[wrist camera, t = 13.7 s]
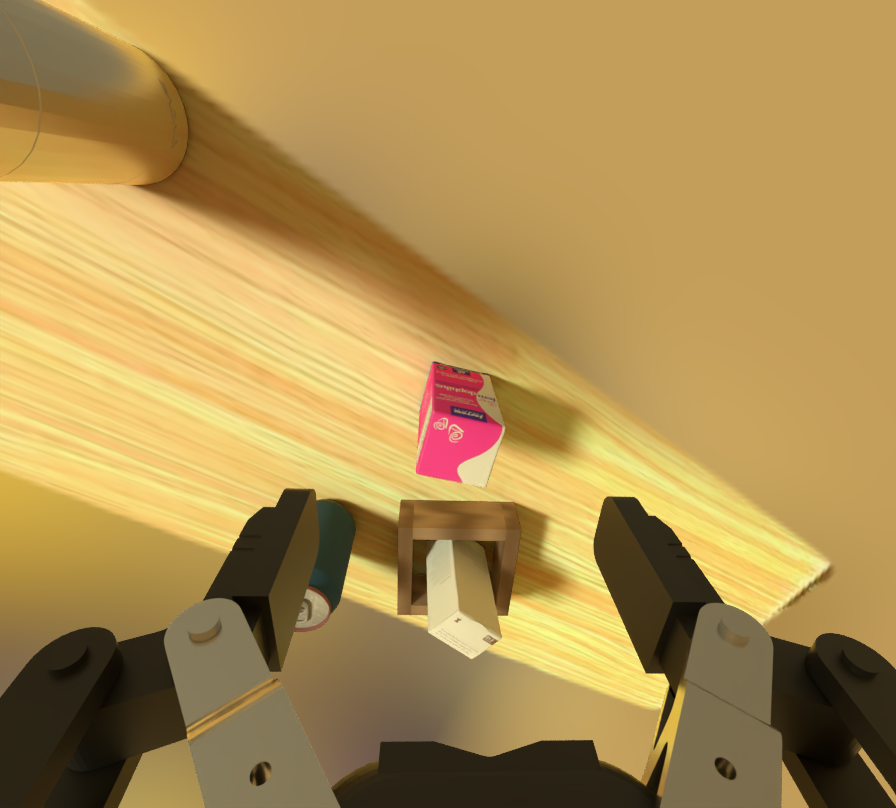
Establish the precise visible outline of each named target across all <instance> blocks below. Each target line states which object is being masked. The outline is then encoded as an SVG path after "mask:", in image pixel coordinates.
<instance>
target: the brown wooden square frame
mask: <svg viewBox="0 0 896 808" xmlns="http://www.w3.org/2000/svg"><path fill="white" fill-rule="evenodd" d="M520 535H521V527H520V523H519V519H518V516H517V512H516V508H515V504H514V502H476V501H429V500H401V503H400V513H399V523H398V615H428V601H427V575H423V574H413V539H420V540H479V541H496V542H495V550H494V558H493V566H492V573H491V575H490V580H491V585H492V591H493V596H494V601H495V606H496V611H497V616H508V611H509V605H510V598H511V592H512V586H513V579H514V573H515V567H516V560H517V554H518V548H519V541H520Z"/></svg>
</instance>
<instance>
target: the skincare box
mask: <svg viewBox="0 0 896 808" xmlns="http://www.w3.org/2000/svg"><path fill="white" fill-rule="evenodd" d="M426 563H427V601H428V632H429V633H430V634H432V635H433V636H435V637H437V638H438V639H440V640H441V641H443V642H445V643H446V644H448V645H450V646H451V647H453V648H455V649H456V650H458V651H459V652H461V653H463V654H464V655H466V656H467V657H469V658H470V659H473V658H474V657H476V656H478V655H479V654H480V653H482V652H483V651H485V650H486V649H487V648H489V647H490V646H492V645H493V644H494V643H496V642H497V641H499V640H500V639H501V638H502V636H501V631H500V626H499V621H498V616H497V611H496V606H495V601H494V596H493V591H492V585H491V580H490V575H489V570H488V565H487V560H486V554H485V549H484V548H483V547H482V546H481V545H479V544H478V543H477V542H476V541H474V540H427V541H426Z"/></svg>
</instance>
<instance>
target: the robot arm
mask: <svg viewBox="0 0 896 808" xmlns="http://www.w3.org/2000/svg"><path fill="white" fill-rule="evenodd" d="M187 142H188V122H187V117H186V113H185V109H184V105H183V103H182V100H181V98H180V96H179V94H178V91H177V89H176V88H175V86H174V84H173V83H172V81H171V80H170V78H169V77H168V75H167V74H166V73H165V72H164V71H163V69H162V68H161V67H160V66H159V65H158V64H157V63H156V62H155V61H154V60H153V59H152V58H150V57H149V56H148V55H147V54H145V53H144V52H143V51H141V50H140V49H138V48H136V47H134V46H132V45H130V44H128V43H127V42H124V41H122V40H120V39H118V38H116V37H114V36H112V35H110V34H108V33H106V32H104V31H102V30H100V29H98V28H97V27H95V26H92V25H90V24H88V23H86V22H84V21H82V20H80V19H78V18H76V17H74V16H72V15H70V14H68V13H66V12H64V11H62V10H60V9H58V8H56V7H54V6H52V5H50V4H48V3H45V2H43V1H41V0H0V182H44V183H88V184H126V185H147V184H153V183H157V182H159V181H161V180H164V179H166V178H167V177H169V176H170V175H171V174H172V173H173V172H174V171H176V169H177V168H178V166H179V165H180V163H181V162H182V160H183V157H184V155H185V152H186V149H187ZM318 549H319V523H318V512H317V501H316V493H315V490H314V489H289V488H286V489H285V490H284V491H283V493H282V495H281V497H280V499H279V501H278V503H277V505H276V507H263V508H262V509H260V510H259V511H258V512H257V513H256V514H254V515H253V516H252V517H251V518H250V519H249V520H248V521H247V523H246V524H245V526H244V528H243V530H242V531H241V533H240V535H239V538H238V539H237V540H236V542H235V544H234V546H233V548H232V551H230V553H229V555H228V557H227V558H226V560H225V562H224V564H223V566H222V567H221V569H220V571H219V573H218V575H217V576H216V578H215V580H214V582H213V584H212V585H211V587H210V589H209V591H208V593H207V594H206V596H205V598H204V599H203V601H201V602H199V603H196V604H194V605H192V606H190V607H189V608H187V609H186V610H184V611H183V612H182V613H180V614H179V615H178V616H177V617H176V618H175V619H174V620H173V621H172V623H171V624H170V625H169V627H168V628H167V629H165V630H162V631H159V632H155V633H152V634H148V635H144V636H140V637H136V638H133V639H129V640H124V641H121V642H117V641H116V638H115V636H114V635H113V633H112V632H110V631H109V630H107V629H105V628H100V627H90V628H84V629H79V630H76V631H73V632H70V633H68V634H66V635H63V636H61V637H60V638H58V639H56V640H54V641H53V642H51V643H49V644H48V645H46V646H45V647H44V648H43V649H41V650H40V651H39V652H38V653H37V654H36V655H34V656H33V658H32V659H31V660H30V661H29V662H28V663H27V664H26V666H25V667H24V668H23V670H22V671H21V672H20V673H19V675H18V676H17V677H16V678H15V680H14V681H13V682H12V683H11V685H10V686H9V687H8V689H7V690H6V691H5V692H4V694H3V695H2V696H1V698H0V808H118V806H119V804H120V802H121V800H122V798H123V796H124V793H125V791H126V789H127V787H128V785H129V782H130V780H131V778H132V776H133V773H134V771H135V769H136V767H137V765H138V763H139V761H140V758H141V756H142V754H143V753H145V752H148V751H151V750H154V749H157V748H160V747H163V746H166V745H169V744H171V743H175V742H178V741H180V740H183V739H186V738H188V743H189V746H190V751H191V754H192V758H193V762H194V766H195V770H196V773H197V777H198V781H199V785H200V789H201V792H202V796H203V800H204V804H205V808H781V793H782V792H781V791H782V760H783V762H784V764H785V766H786V767H787V769H788V771H789V773H790V775H791V776H792V778H793V780H794V782H795V783H796V785H797V787H798V788H799V790H800V792H801V794H802V796H803V798H804V799H805V801H806V803H807V805H808V806H809V808H896V806H895V804H894V803H893V802H892V800H891V799H890V797H889V796H888V795H887V793H886V792H885V790H884V789H883V787H882V786H881V785H880V783H879V782H878V781H877V779H876V778H875V776H874V775H873V773H872V772H871V770H870V769H869V768H868V766H867V765H866V763H865V762H864V761H863V759H862V758H861V757H860V755H859V754H858V752H859V751H860V749H861V748H863V749H864V751H865V752H866V753H867V755H868V756H869V757H870V759H871V760H872V762H873V763H874V764H875V766H876V767H877V769H878V770H879V771H880V773H881V774H882V775H883V777H884V778H885V780H886V781H887V782H888V784H889V785H890V786H891V788H892V789H893V791H894V792H895V794H896V669H895V668H894V667H893V666H892V665H891V664H890V663H889V662H888V661H887V660H886V659H884V658H883V657H882V656H881V655H880V654H878V653H877V652H876V651H874V650H873V649H871V648H870V647H868V646H866V645H865V644H862V643H861V642H859V641H857V640H855V639H852V638H850V637H847V636H844V635H840V634H834V633H826V634H822V635H820V636H819V637H818V638H817V639H816V640H815V642H814V644H813V645H812V647H807V646H803V645H800V644H796V643H792V642H789V641H785V640H781V639H778V638H774V637H771V636H769V634H768V632H767V631H766V630H765V628H764V627H763V626H762V625H761V624H760V623H759V622H758V621H757V620H755V619H754V618H753V617H752V616H750V615H749V614H747V613H745V612H744V611H742V610H740V609H738V608H736V607H733V606H730V605H727V604H725V603H724V602H723V601H722V599H721V598H720V596H719V595H718V594H717V592H716V591H715V589H714V588H713V587H712V585H711V584H710V582H709V581H708V580H707V578H706V577H705V575H704V574H703V572H702V571H701V570H700V568H699V567H698V565H697V564H696V563H695V561H694V560H693V559H691V556H690V554H689V553H688V551H687V550H686V549H685V547H682V543H681V542H680V540H679V539H678V537H677V536H676V535H675V533H674V532H673V530H672V529H671V528H670V527H668V526H667V525H666V524H665V523H663V522H662V521H661V520H660V519H658V518H657V517H656V516H648V514H647V513H646V511H645V510H644V508H643V507H642V505H641V504H640V502H639V501H638V500H637V499H636V498H635V497H606V498H605V500H604V502H603V505H602V509H601V513H600V517H599V521H598V525H597V529H596V533H595V537H594V555H595V559H596V562H597V565H598V567H599V569H600V571H601V574H602V576H603V578H604V580H605V583H606V585H607V587H608V589H609V592H610V594H611V596H612V598H613V600H614V603H615V605H616V607H617V609H618V612H619V614H620V616H621V618H622V621H623V623H624V625H625V627H626V630H627V632H628V634H629V636H630V639H631V641H632V643H633V645H634V648H635V650H636V652H637V654H638V657H639V659H640V661H641V663H642V666H643V668H644V670H645V672H646V673H665V676H666V678H667V680H668V682H669V685H668V687H667V690H666V692H665V696H664V700H663V704H662V708H661V711H660V715H659V719H658V723H657V727H656V731H655V735H654V738H653V742H652V746H651V750H650V754H649V757H648V761H647V764H646V768H645V771H644V774H643V776H642V779H641V782H640V781H638V780H637V779H636V778H634V777H633V776H632V775H630V774H628V773H626V772H625V771H623V770H621V769H619V768H617V767H615V766H613V765H611V764H608V763H606V762H604V761H600V760H598V757H597V753H596V750H595V746H594V743H593V740H568V741H539V742H536V743H533V744H530V745H527V746H524V747H521V748H518V749H515V750H512V751H509V752H506V753H503V754H500V755H497V756H493V757H486V756H482V755H479V754H475V753H471V752H468V751H464V750H461V749H458V748H455V747H451V746H448V745H444V744H441V743H437V742H434V741H432V742H381V745H380V756H379V760H378V761H376V762H372V763H369V764H367V765H365V766H363V767H361V768H358V769H357V770H355V771H353V772H351V773H350V774H348V775H347V776H345V777H344V778H342V779H341V780H340V781H339V782H337V783H336V784H335V785H334V786H332V787H330V785H329V783H328V781H327V778H326V776H325V774H324V772H323V770H322V768H321V766H320V764H319V761H318V759H317V757H316V755H315V753H314V751H313V749H312V747H311V745H310V743H309V740H308V738H307V736H306V734H305V732H304V730H303V728H302V726H301V723H300V721H299V719H298V717H297V715H296V713H295V711H294V709H293V706H292V705H291V702H290V700H289V698H288V696H287V694H286V692H285V690H284V688H283V686H282V684H281V682H280V681H279V680H278V679H276V680H274V679H273V677H272V675H271V673H270V672H271V671H272V672H273V671H274V672H278V671H281V670H282V667H283V664H284V660H285V657H286V654H287V651H288V648H289V644H290V641H291V638H292V635H293V632H294V629H295V625H296V622H297V619H298V616H299V613H300V609H301V606H302V603H303V600H304V597H305V593H306V590H307V587H308V584H309V581H310V577H311V574H312V571H313V568H314V565H315V561H316V558H317V554H318Z"/></svg>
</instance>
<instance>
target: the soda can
mask: <svg viewBox="0 0 896 808" xmlns="http://www.w3.org/2000/svg"><path fill="white" fill-rule="evenodd" d="M317 512H318V523H319V549H318V554H317V558H316V561H315V565H314V568H313V571H312V574H311V577H310V581H309V584H308V587H307V590H306V593H305V597H304V600H303V603H302V606H301V609H300V613H299V616H298V619H297V622H296V625H295V629H294V632H306V631H312V630H315V629H317V628H319V627H321V626H322V625H324V624H325V623H326V622H327V620H328V619H329V616H330V614H331V613H332V612H333V611H334V610H335V608H336V607H337V606H338V604H339V602H340V599H341V594H342V590H343V585H344V581H345V576H346V572H347V568H348V563H349V559H350V554H351V550H352V545H353V541H354V536H355V531H356V527H355V522H354V520H353V518H352V516H351V514H350V513H349V512H348V510H347V509H346V508H345V507H344V506H343V505H341V504H339V503H337V502H335V501H332V500H317Z"/></svg>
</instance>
